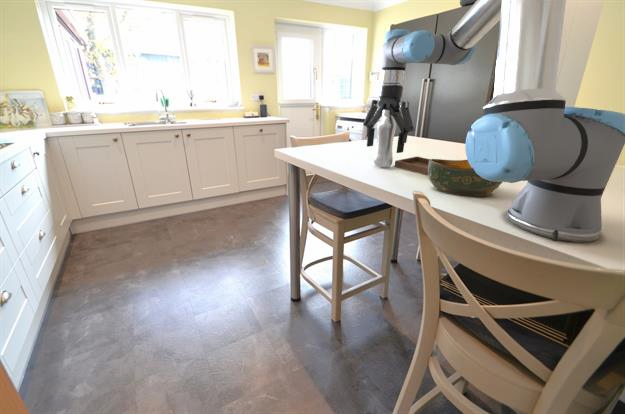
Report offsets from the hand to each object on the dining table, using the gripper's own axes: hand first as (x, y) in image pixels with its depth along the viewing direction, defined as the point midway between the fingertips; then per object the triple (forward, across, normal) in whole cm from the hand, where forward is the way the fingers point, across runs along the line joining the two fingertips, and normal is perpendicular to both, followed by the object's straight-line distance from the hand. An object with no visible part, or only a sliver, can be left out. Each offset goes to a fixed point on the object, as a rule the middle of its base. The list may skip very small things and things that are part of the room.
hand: (384, 149), depth 102 cm
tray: (+6, -13, -11) cm, 18 cm away
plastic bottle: (+7, 0, 0) cm, 7 cm away
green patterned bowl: (+6, -32, +3) cm, 33 cm away
